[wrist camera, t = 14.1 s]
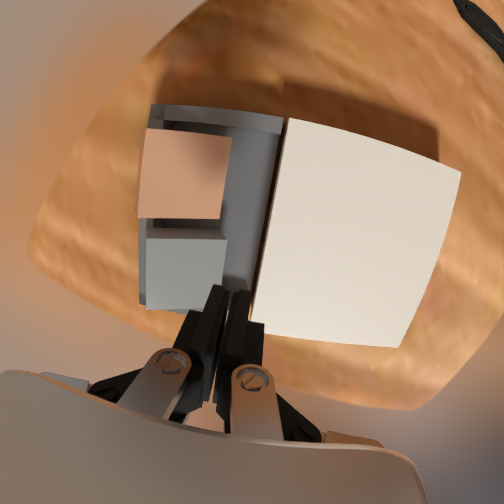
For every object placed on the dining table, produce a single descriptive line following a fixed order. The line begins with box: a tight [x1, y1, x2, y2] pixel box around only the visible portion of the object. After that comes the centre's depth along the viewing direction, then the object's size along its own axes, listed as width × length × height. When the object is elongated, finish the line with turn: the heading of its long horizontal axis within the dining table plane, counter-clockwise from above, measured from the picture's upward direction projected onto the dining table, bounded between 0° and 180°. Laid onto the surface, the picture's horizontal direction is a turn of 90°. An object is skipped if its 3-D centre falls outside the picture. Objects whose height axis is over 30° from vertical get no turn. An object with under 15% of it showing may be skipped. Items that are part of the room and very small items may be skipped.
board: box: [250, 118, 461, 347], centre depth 18 cm, size 14×12×3 cm
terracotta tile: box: [135, 128, 232, 219], centre depth 16 cm, size 5×5×2 cm
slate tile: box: [145, 227, 227, 310], centre depth 18 cm, size 5×5×2 cm
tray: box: [139, 104, 284, 321], centre depth 18 cm, size 14×8×2 cm, turn 171°
